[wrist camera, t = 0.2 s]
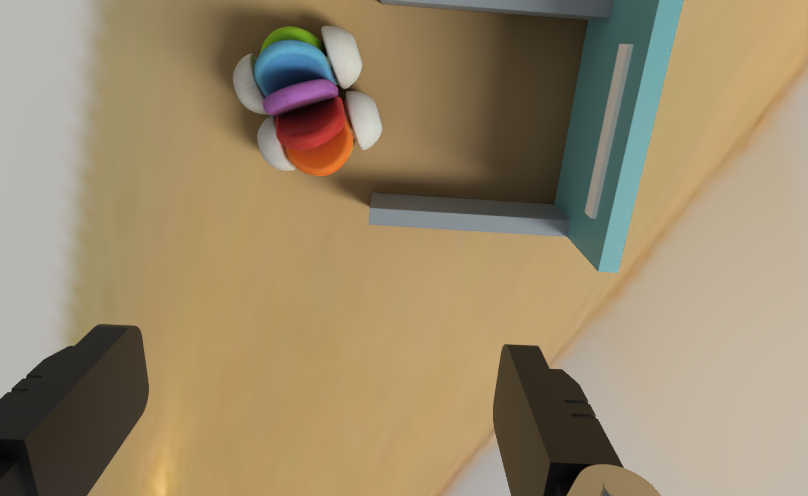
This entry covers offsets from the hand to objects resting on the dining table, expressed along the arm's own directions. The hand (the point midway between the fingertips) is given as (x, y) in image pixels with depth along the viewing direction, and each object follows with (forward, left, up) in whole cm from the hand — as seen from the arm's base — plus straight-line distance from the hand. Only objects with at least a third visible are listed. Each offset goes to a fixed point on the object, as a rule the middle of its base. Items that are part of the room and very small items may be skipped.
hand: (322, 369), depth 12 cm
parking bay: (-3, +8, -28) cm, 30 cm away
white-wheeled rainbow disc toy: (-3, -4, -29) cm, 29 cm away
